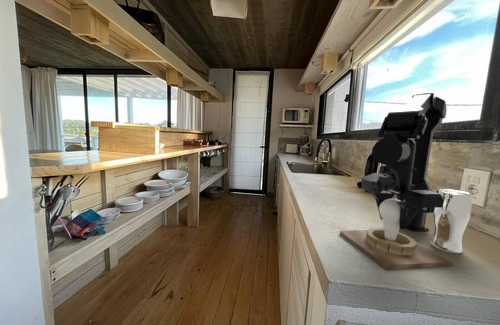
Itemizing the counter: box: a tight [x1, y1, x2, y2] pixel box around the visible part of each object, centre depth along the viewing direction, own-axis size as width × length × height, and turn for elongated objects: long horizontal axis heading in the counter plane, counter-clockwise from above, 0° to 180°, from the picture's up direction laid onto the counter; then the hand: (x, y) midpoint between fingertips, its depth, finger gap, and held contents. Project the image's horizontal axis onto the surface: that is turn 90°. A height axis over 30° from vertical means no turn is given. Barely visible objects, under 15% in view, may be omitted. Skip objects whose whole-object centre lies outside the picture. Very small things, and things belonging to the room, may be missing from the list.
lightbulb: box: [378, 198, 400, 241], centre depth 54 cm, size 6×6×11 cm
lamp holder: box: [339, 227, 454, 271], centre depth 54 cm, size 17×17×3 cm
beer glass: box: [430, 188, 473, 254], centre depth 55 cm, size 7×7×15 cm
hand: (392, 223), depth 54 cm, fingers closed on lightbulb, 6 cm apart
